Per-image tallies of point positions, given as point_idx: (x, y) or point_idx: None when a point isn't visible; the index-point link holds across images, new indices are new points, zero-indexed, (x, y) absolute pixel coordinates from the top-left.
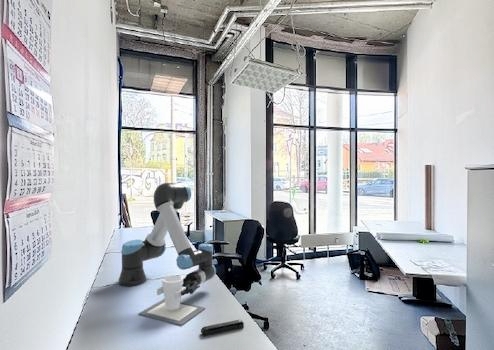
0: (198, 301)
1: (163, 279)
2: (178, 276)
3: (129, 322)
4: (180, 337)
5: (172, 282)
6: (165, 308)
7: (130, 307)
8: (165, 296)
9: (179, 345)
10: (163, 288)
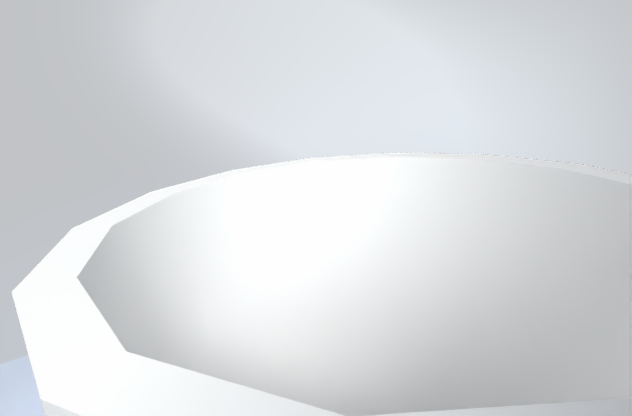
0: None
1: (503, 160)
2: (536, 412)
3: None
4: (39, 397)
5: (221, 173)
6: None
7: None
8: (389, 396)
9: (27, 355)
10: (442, 294)
